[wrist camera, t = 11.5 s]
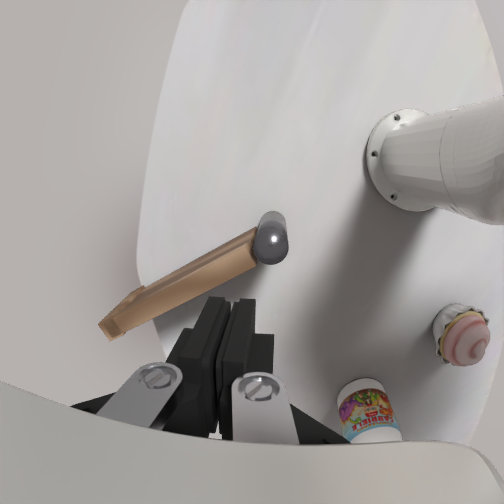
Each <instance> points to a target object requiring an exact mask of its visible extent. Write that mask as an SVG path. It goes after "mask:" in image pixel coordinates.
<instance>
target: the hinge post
mask: <svg viewBox="0 0 504 504" xmlns="http://www.w3.org/2000/svg"><path fill="white" fill-rule="evenodd" d="M253 251H254V254H255V256H256V257H257V259H258V260H259V261H261V262H262V263H265V264H269V265H273V264H277V263H279V262H281V261H282V260H283V259H284V258H285V257H286V255H287V253H288V238H287V230H286V222H285V218H284V217H283V215H282V214H280V213H279V212H276V211H270V212H267V213H266V214H264V215H263V217H262V218H261V221H260V224H259V228H258V231H257V234H256V237H255V241H254V244H253Z"/></svg>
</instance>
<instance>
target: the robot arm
mask: <svg viewBox="0 0 504 504" xmlns="http://www.w3.org/2000/svg"><path fill="white" fill-rule="evenodd" d="M394 117H396V121H395V120H394ZM372 152H373V153H374V154H375V155H374V157H373V156H372V155H371V154H372ZM366 158H367V167H368V171H369V175H370V177H371V180H372V182H373V184H374V186H375V187H376V189H377V190H378V192H379V193H380V194H381V195H382V196H383V197H384V198H385V199H386V200H387V201H388V202H390V203H391V204H393V205H394V206H397V207H399V208H401V209H404V210H407V211H416V212H418V211H425V210H428V209H431V208H433V207H435V206H436V207H439V208H442V209H445V210H448V211H451V212H454V213H457V214H459V215H462V216H465V217H468V218H471V219H474V220H477V221H479V222H482V223H485V224H490V225H504V95H503V96H500V97H496V98H493V99H489V100H486V101H482V102H478V103H474V104H470V105H466V106H462V107H458V108H454V109H450V110H446V111H442V112H438V113H435V114H431V115H430V114H428V113H426V112H424V111H420V110H417V109H402V110H398V111H395V112H392V113H390V114H389V115H387V116H385V117H384V118H383V119H382V120H380V121H379V122H378V124H377V125H376V126H375V128H374V129H373V131H372V133H371V135H370V137H369V141H368V145H367V154H366ZM392 194H393V198H391V195H392ZM255 307H256V300H255V299H242V298H241V299H240V302H234V305H233V308H232V311H231V304H230V302H228V301H225V298H224V297H209V299H208V300H207V302H206V304H205V306H204V308H203V310H202V312H201V314H200V316H199V318H198V320H197V322H196V324H195V326H194V328H193V329H191V328H184V329H183V331H182V333H181V335H180V336H179V338H178V340H177V342H176V344H175V345H174V347H173V349H172V351H171V353H170V354H169V356H168V358H167V360H166V362H165V363H163V362H155V363H150V364H146V365H144V366H142V367H140V368H139V369H138V370H136V371H135V372H134V373H133V375H132V376H131V377H130V378H129V379H128V380H127V381H126V382H125V383H124V384H123V385H122V387H121V388H120V389H119V390H118V391H117V392H115V393H112V394H109V395H105V396H102V397H99V398H95V399H92V400H89V401H85V402H82V403H78V404H75V405H72V406H70V407H69V406H66V405H63V404H60V403H57V402H54V401H52V400H49V399H46V398H44V397H41V396H38V395H36V394H33V393H30V392H28V391H25V390H23V389H20V388H17V387H15V386H12V385H10V384H7V383H4V382H1V381H0V504H504V481H503V479H502V477H501V476H500V474H499V473H498V471H497V470H496V468H495V467H494V466H493V464H492V463H491V462H490V461H489V460H488V459H487V458H486V457H485V456H484V455H483V454H482V453H481V452H479V451H478V450H476V449H474V448H472V447H469V446H466V445H462V444H458V443H452V442H444V441H437V440H402V441H387V442H372V443H351V442H349V441H348V440H347V439H346V438H344V437H342V436H340V435H339V434H337V433H336V432H334V431H332V430H331V429H329V428H327V427H326V426H324V425H323V424H321V423H319V422H318V421H316V420H315V419H313V418H312V417H310V416H308V415H307V414H305V413H304V412H302V411H301V410H299V409H298V408H296V407H295V406H293V405H292V404H290V403H289V399H288V395H287V391H286V387H285V385H284V383H283V381H282V380H281V379H279V378H278V377H276V376H274V375H272V374H273V352H274V334H255ZM218 420H219V433H220V434H222V440H221V439H212V438H208V437H209V433H215V432H216V428H217V424H218Z"/></svg>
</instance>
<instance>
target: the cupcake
mask: <svg viewBox="0 0 504 504" xmlns="http://www.w3.org/2000/svg"><path fill="white" fill-rule="evenodd" d="M488 323H489V319H488V318H485V317H484V311H483V310H479V309H475V308H474V307H473V306H469V307H466V306H464V305H461V304H451V305H448V306H446V307H445V308H443V309H442V310H441V311H440V312H439V313H438V315H437V316H436V318H435V320H434V323H433V335H434V338H435V342H436V356H438V357H441V359H442V363H443V364H447V363H451V364H452V365H454V366H455V365H457V366H467V365H473V364H476V363H478V362H479V361H480V360H481V359H482V358H483V356H484V354H485V349H486V347H487V345H488V343H489V340H490V331H489V329H488V327H487V325H488Z"/></svg>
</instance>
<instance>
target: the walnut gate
mask: <svg viewBox="0 0 504 504" xmlns="http://www.w3.org/2000/svg"><path fill="white" fill-rule="evenodd" d="M257 231H258V229H257V228H256V227H254V228H252V229H251V230H249V231H247V232H245V233H243V234H241V235H240V236H238V237H236V238H234V239H232V240H230V241H229V242H227V243H225V244H223V245H221V246H219V247H218V248H216V249H214V250H212V251H210V252H208V253H207V254H205V255H203V256H201V257H199V258H198V259H196V260H194V261H192V262H190V263H189V264H187V265H185V266H183V267H181V268H180V269H178V270H176V271H174V272H172V273H171V274H169V275H167V276H165V277H163V278H162V279H160V280H158V281H156V282H154V283H153V284H151V285H149V286H147V287H146V288H145V287H144V285H143V286H141V287H140V288H138V289H136V290H135V291H133V292H131V293H130V294H129V295H128V296H127V297H126V298H125V299H123V300H122V301H121V302H120V303H119V304H118V305H117V306H116V307H115V308H114V309H113V310H112V311H111V312H110V313H109V314H108V315H107V316H106V317H105V318H104V319H103V320H102V321H101V322H100V323H99V324H98V325H99V327H100V328H101V329H102V331H103V332H104V334H105V335H106V337H107V338H108V339H109V341H112V340H114V339H115V338H118V337H120V336H122V335H124V334H125V333H126V331H128V330H130V329H132V328H134V327H136V326H139V325H140V324H143V323H145V322H147V321H149V320H151V319H153V318H155V317H157V316H159V315H161V314H163V313H165V312H167V311H169V310H171V309H173V308H175V307H177V306H179V305H181V304H183V303H185V302H187V301H189V300H191V299H193V298H195V297H197V296H199V295H201V294H203V293H205V292H207V291H208V290H210V289H212V288H214V287H216V286H218V285H220V284H222V283H224V282H226V281H228V280H230V279H232V278H234V277H236V276H238V275H240V274H242V273H244V272H246V271H248V270H250V269H252V268H254V267H256V266H257V262H258V261H257V257H256V256H255V254H254V251H253V244H254V241H255V237H256V234H257Z"/></svg>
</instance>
